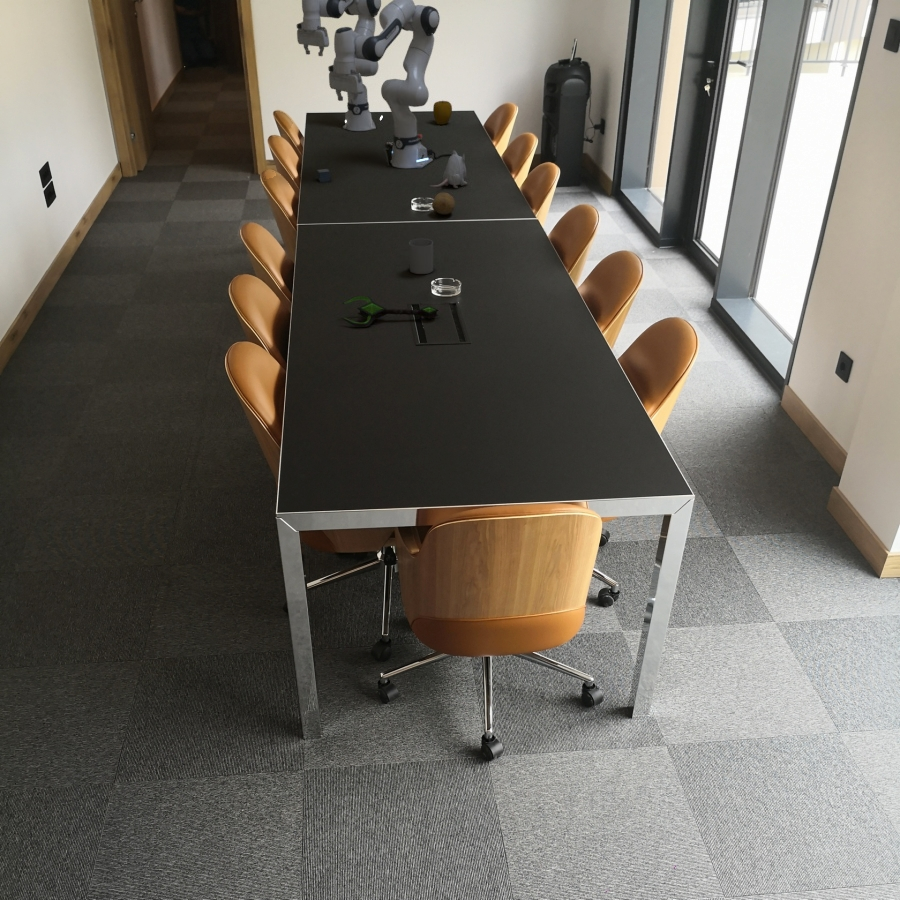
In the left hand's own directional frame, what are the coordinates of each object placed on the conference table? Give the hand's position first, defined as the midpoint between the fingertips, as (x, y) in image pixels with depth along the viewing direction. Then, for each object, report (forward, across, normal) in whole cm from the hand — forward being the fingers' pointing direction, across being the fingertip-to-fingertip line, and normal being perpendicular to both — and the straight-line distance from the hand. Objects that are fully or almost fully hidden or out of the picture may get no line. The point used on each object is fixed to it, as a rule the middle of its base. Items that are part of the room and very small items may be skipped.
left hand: (314, 55), depth 448 cm
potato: (+44, -133, +56) cm, 151 cm away
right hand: (+9, -68, +45) cm, 82 cm away
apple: (+42, -26, -73) cm, 88 cm away
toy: (+43, -111, +26) cm, 122 cm away
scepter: (+45, -189, +150) cm, 245 cm away
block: (+44, -58, +53) cm, 90 cm away
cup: (+45, -169, +111) cm, 207 cm away
